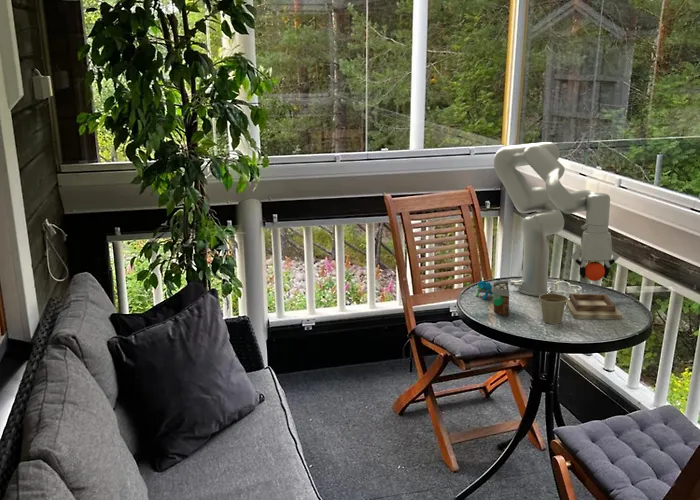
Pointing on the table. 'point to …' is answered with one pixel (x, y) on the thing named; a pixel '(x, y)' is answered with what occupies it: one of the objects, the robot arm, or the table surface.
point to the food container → (501, 298)
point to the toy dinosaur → (484, 288)
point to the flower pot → (552, 307)
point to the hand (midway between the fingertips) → (593, 276)
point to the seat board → (592, 307)
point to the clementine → (594, 271)
